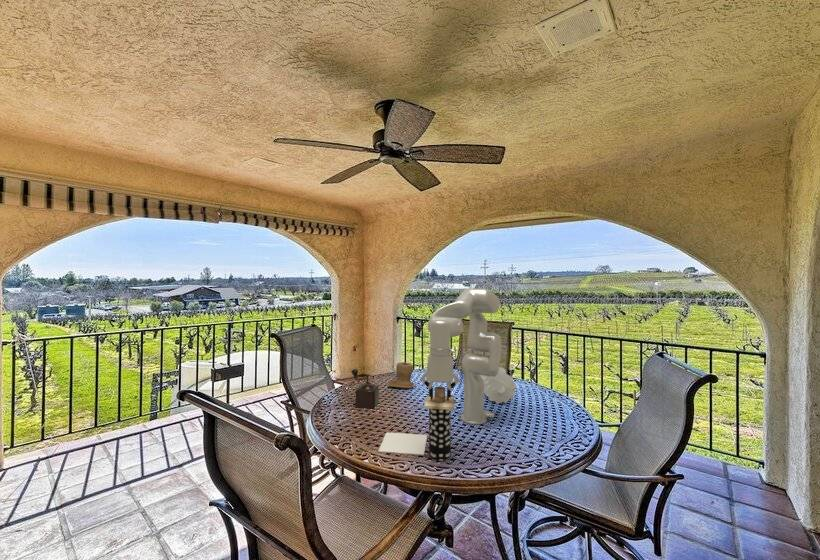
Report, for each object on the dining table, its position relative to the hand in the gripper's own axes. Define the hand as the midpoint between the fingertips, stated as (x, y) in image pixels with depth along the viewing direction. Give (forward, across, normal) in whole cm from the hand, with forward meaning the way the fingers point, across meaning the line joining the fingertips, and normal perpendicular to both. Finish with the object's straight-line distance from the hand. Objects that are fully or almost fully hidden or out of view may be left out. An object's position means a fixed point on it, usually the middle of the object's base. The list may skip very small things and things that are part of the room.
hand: (439, 398), depth 130 cm
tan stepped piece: (+22, +27, -78) cm, 86 cm away
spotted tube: (+22, 0, 0) cm, 22 cm away
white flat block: (+22, +15, -7) cm, 28 cm away
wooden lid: (+2, 0, 0) cm, 2 cm away
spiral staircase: (+22, -29, -66) cm, 75 cm away
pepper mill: (+22, +43, -46) cm, 67 cm away
